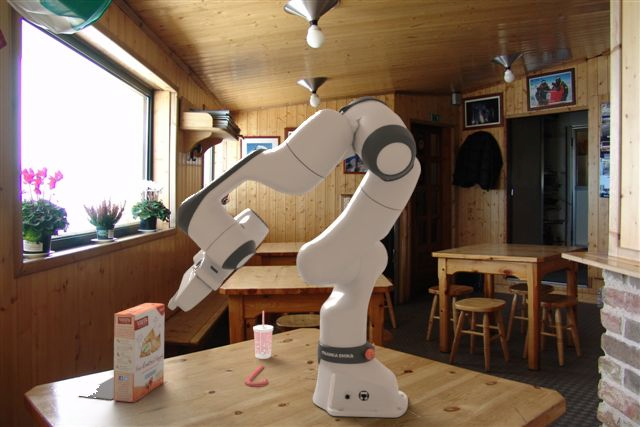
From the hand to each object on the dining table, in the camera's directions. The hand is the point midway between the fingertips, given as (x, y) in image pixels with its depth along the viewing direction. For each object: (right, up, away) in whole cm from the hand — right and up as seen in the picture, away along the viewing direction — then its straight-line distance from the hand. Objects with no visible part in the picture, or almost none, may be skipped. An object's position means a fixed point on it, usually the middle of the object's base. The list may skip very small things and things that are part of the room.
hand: (170, 306), depth 118 cm
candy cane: (+19, -23, +17) cm, 34 cm away
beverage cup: (+18, -22, +35) cm, 45 cm away
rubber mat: (-17, -22, +8) cm, 29 cm away
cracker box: (-9, -23, +6) cm, 25 cm away
